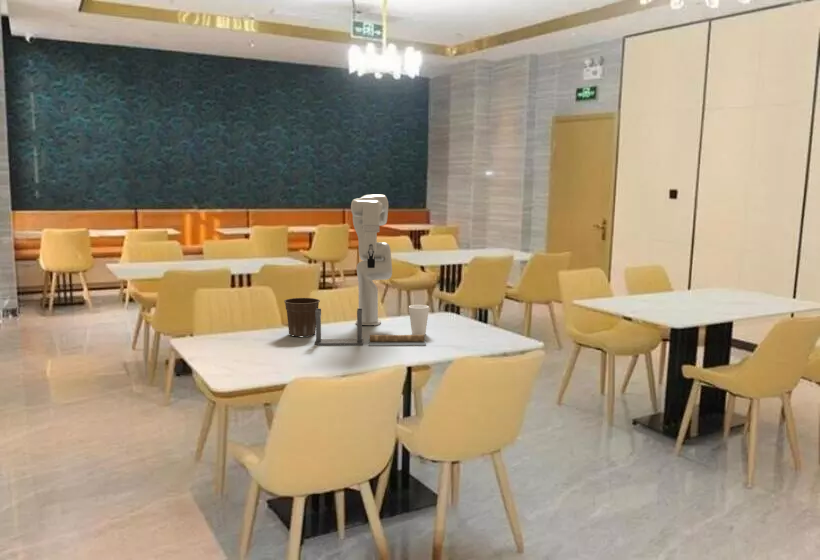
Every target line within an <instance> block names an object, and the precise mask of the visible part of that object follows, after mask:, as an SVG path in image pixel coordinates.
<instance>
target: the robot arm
mask: <svg viewBox="0 0 820 560" xmlns="http://www.w3.org/2000/svg"><path fill="white" fill-rule="evenodd" d="M350 210H351V215H352V224H353V227H354V231H355V233H356V235H357V239H358V256H359V258H360V260H361V261H359V262H358V263H357V265H356V274H357V282H358V308H362V325H374V326H380V325H381V324H380V323H382V322H381V320H380V319H379V306H378V305H379V303H378V302H379V296H378V295H379V294H378V293H379V290H378V287H377V285H376V283H374V282H373V281H377V280H378V281H380V280H385V281H386V280H390V279H391V278H392V276H393V263H392V250H391V246H390V244H389V243H388V242H383V241H382V242H381V241H380V242H378V240H377V238H378V236H377V235H378V234H377V233H380V226H385V225H386V224H387V222H388V217H389V215H388V213H389V201H388V198H387V196H386V195H385V194H364V195H362V196H361V197H359V198H358V197H357V198H354V199H352V201H351V205H350ZM355 324H356V325H357V320H355Z"/></svg>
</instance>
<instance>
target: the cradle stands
mask: <svg viewBox="0 0 820 560" xmlns="http://www.w3.org/2000/svg"><path fill="white" fill-rule="evenodd" d="M315 318H316V331H315V340H314V345H317V346H364V338H363V326H362V308H359V307H358V308H357V309H356V321H357V324H356V327H357V328H356V330H357V331H356V334H357V335H356V336H357V338H322V308H318V309H316V311H315Z"/></svg>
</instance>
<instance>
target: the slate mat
mask: <svg viewBox="0 0 820 560" xmlns="http://www.w3.org/2000/svg"><path fill="white" fill-rule="evenodd" d="M413 345H415V346H413ZM416 345H417V346H418V347H420V346H421V345H423V346H421V347H424V346H425V347H426V346H427V342H426V339H425V338H424V342H370V338H369V339H368V347H417V346H416Z"/></svg>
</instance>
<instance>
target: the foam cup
mask: <svg viewBox="0 0 820 560" xmlns="http://www.w3.org/2000/svg"><path fill="white" fill-rule="evenodd" d="M408 313H409V320H410V327H411V335H424V336H425V335H426V333H427V326H428V319H429V318H428V317H429V313H430V306H429V305H425V304H413V305H412V304H411V305H408Z"/></svg>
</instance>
